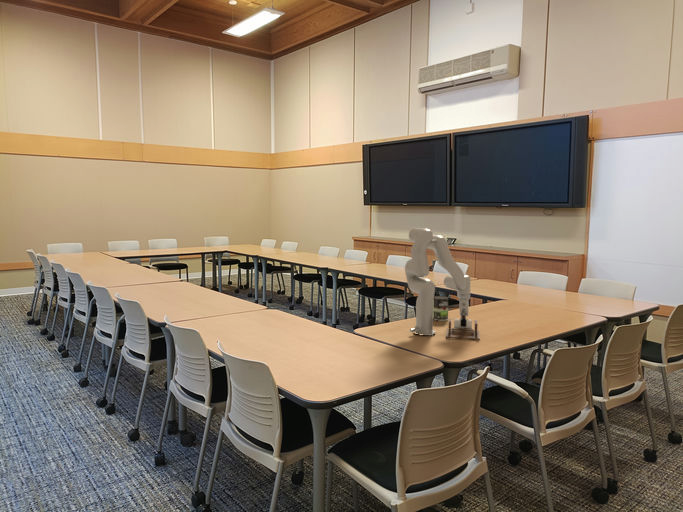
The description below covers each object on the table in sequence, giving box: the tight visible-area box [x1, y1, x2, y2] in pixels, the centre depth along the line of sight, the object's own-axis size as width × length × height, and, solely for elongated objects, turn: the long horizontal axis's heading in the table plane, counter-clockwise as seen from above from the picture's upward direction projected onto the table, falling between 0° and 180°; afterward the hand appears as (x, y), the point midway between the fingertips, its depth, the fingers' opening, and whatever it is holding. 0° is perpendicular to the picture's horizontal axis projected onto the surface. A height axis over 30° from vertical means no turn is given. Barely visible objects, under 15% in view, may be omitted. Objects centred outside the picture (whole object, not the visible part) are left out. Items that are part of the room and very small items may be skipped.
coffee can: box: [433, 295, 449, 322], centre depth 305 cm, size 10×10×14 cm
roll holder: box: [445, 318, 481, 341], centre depth 267 cm, size 18×16×8 cm
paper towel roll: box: [453, 318, 473, 329], centre depth 283 cm, size 10×6×6 cm, turn 76°
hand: (463, 324), depth 284 cm, fingers open, 9 cm apart
